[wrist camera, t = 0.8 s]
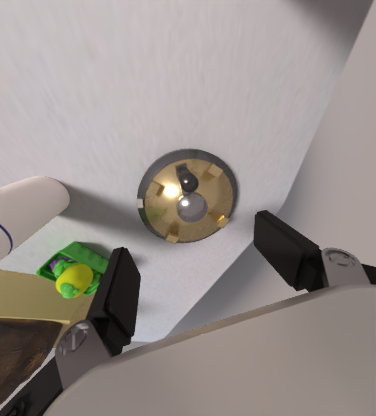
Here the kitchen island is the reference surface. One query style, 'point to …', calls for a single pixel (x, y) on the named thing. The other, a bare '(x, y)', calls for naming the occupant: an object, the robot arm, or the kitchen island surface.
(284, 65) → the kitchen island surface
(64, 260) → the fruit basket
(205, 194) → the gold dial with handle
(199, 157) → the cap plate
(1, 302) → the decorative clock
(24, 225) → the cylindrical container
